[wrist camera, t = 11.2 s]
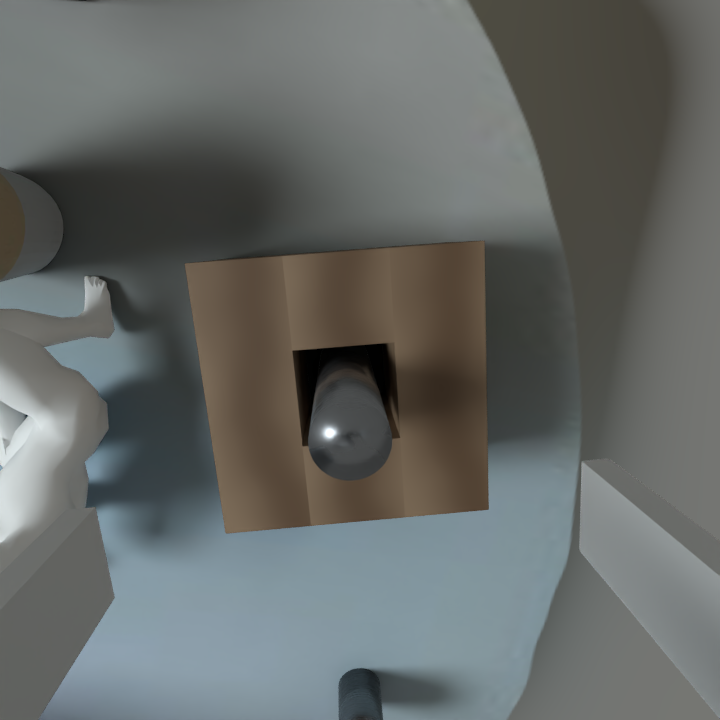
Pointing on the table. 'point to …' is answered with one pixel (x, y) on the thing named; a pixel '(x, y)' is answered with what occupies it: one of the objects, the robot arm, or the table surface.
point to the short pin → (360, 696)
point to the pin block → (337, 329)
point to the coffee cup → (26, 226)
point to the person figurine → (46, 419)
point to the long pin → (348, 416)
